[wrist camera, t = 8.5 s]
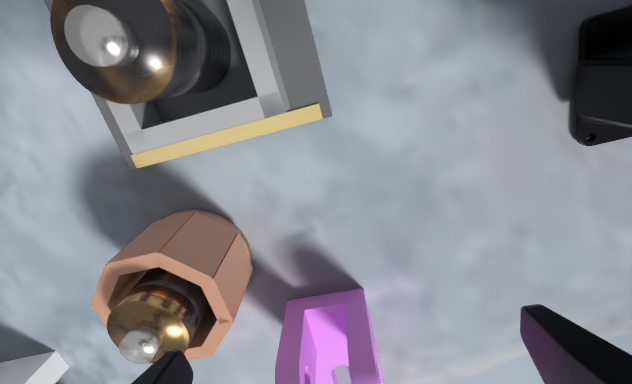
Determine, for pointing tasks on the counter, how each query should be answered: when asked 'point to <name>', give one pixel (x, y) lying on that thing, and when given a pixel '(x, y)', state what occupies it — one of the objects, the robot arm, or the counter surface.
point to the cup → (185, 269)
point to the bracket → (327, 340)
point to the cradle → (231, 88)
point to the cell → (140, 47)
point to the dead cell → (157, 316)
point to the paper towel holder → (33, 369)
